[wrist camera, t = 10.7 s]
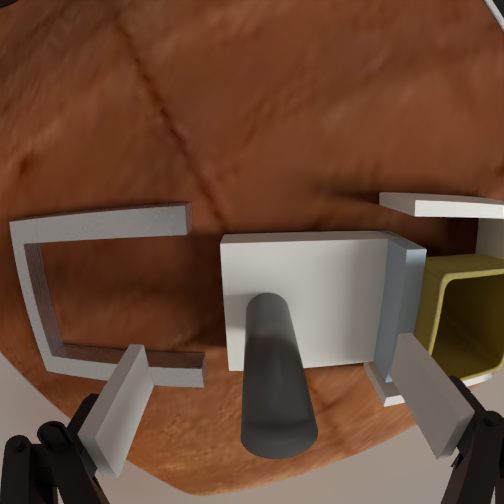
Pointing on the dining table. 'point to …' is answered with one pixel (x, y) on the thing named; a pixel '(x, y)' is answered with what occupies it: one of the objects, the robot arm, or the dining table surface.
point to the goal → (488, 243)
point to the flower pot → (463, 314)
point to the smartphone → (497, 10)
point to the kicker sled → (311, 319)
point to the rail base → (40, 304)
